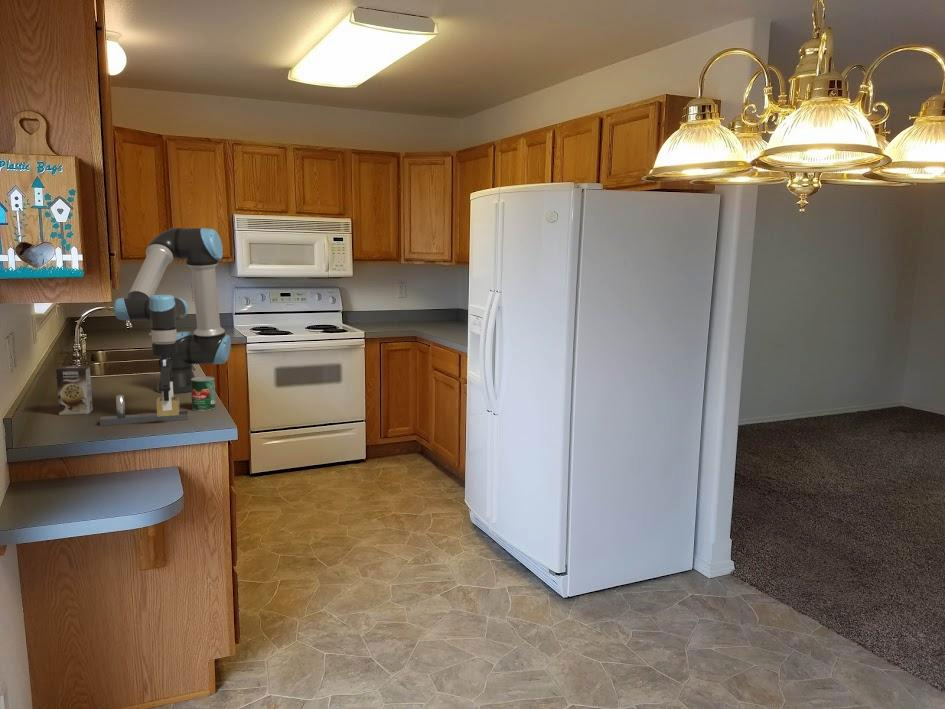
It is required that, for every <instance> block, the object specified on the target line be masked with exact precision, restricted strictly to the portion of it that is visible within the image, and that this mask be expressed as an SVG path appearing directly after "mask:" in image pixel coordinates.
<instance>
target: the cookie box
mask: <svg viewBox="0 0 945 709" xmlns="http://www.w3.org/2000/svg"><path fill="white" fill-rule="evenodd" d="M55 371H56V387H57V388H56V389H57V398H58V399H57V401H58V402H57V404H58V415H59V416H66V415H67V416H68V415H88V414H90V413H91V412H92V411H94V408H93V394H92V377H91V375H92V374H91V365H61V366H58V367H57V368H55Z"/></svg>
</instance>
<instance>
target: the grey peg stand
mask: <svg viewBox="0 0 945 709" xmlns="http://www.w3.org/2000/svg"><path fill="white" fill-rule="evenodd" d="M171 400H172V399H171ZM115 405H116V415H108V416H107V415H106V416H101V417H100V418H99V426H100V427H101V426H116V425H127V424H128V425H129V424H141V423H142V424H143V423H145V424H146V423H156V422H170V421H171V422H172V421H183V420H184V421H185V420H186V419H188V420H189V411H188V410H183V411H181V410H180V412H179V415H173V416H158V417H157V412H155V413H154V412H153V413H152V412H151V413H138V414H126V402H125V394H124V395H123V394H117V395H115Z"/></svg>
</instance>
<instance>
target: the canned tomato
mask: <svg viewBox="0 0 945 709" xmlns="http://www.w3.org/2000/svg"><path fill="white" fill-rule="evenodd" d="M191 390H192V391H191V406H192V407H191V408H192V411H194V410H195V412H206V411H205V410H209V411H212V410H211V409H213V410H215V409H216V406H217V405H216V404H217V403H216V402H217V401H216V381H215V377H214V376H195V378H192V379H191ZM214 408H215V409H214Z"/></svg>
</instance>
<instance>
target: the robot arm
mask: <svg viewBox="0 0 945 709" xmlns="http://www.w3.org/2000/svg"><path fill="white" fill-rule="evenodd" d="M222 242H223V241H222V239H221V237H220V234H219V233H218V232H217V231H216V230H215V229H214V228H205V227H200V228H199V227H185V228H184V227H182V228H180V227H173V228H168V229H167V230H164V231H162V232H161V233H159V234H157V235H156V236H155V237H154V238H153V239H152V240H151V241H150V242H149V243H148V246H147V247H146V249H145V256H146V257H145V259H144V261H143V262H142V265H141V267H140V269H139V270H138V273H137V275H136V278H135V279H134V282H133V283H132V286H131V288H130V290H129V291H128V294H127V295H126V297H121V298H120V297H119V298H117V299H115V300H114V303H113V312H114V315H115V317H116V319H118V320H119V321H131V322H132V321H134V322H135V321H150V332H149V333H148V336H151V341H152V342H153V343H152V344H151V350H152V355H154V356H159V359H158V366H159V376H158V381H157V384H156V391H157V392H158V393H161V397H162V407H163V411H166V410H172V402H171V397H175V396H174V394H179V393H180V394H182V393H189V392H192V390H191V379H192V378H195V377H196V376H195V373H194V370H193V365H223V364H225V363H226V362H227V361H228V360H229V358H230V353H231V349H232V348H231V346H232V342H231V340H232V339H231V336H230V335H228V334H226V331H225V328H223V327H222V326H221V320H220V309H219V307H220V306H219V298H218V297H219V296H218V289H217V276H216V274H217V273H216V267H217V266H218V265H219V262H220V260H222V258H223V251H224V250H223V249H224V248H223V243H222ZM179 259H180V260H185V262H186V266H187V267H189V268H190V270H191V278H192V289H193V298H194V299H193V300H194V307H195V308H194V310H195V318H196V329H195V330H194V331H193V334H192V332H191V331H189V330H188V331H187V330H185V331H177V325H176V324H177V322H176V321H180V320H182V319H183V318H185V317H186V316H187V314H188V312H189V305H188V303H187V302H186V301H185V300H184V299H183V298H180V297H174V295H171V294H156V291H157V289H158V287H159V285H160V283H161V280H162V278H163V275H164V273H165V271H166V269H167V267H168V265H170V264H172V262H173V261H174V260H179Z"/></svg>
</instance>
